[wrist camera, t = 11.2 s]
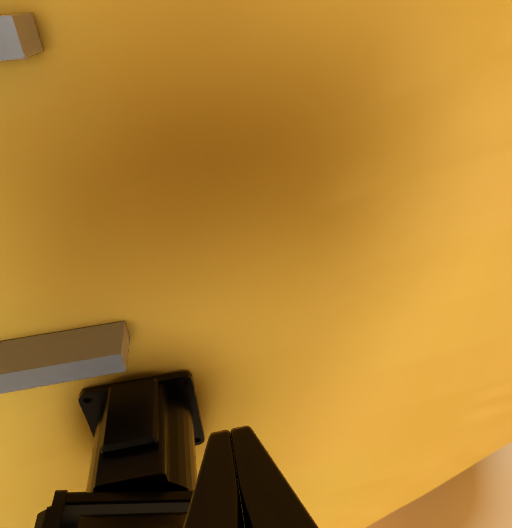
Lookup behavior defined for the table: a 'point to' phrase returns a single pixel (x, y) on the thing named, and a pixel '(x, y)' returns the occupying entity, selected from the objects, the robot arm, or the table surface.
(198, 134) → the table surface
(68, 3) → the table surface
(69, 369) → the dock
